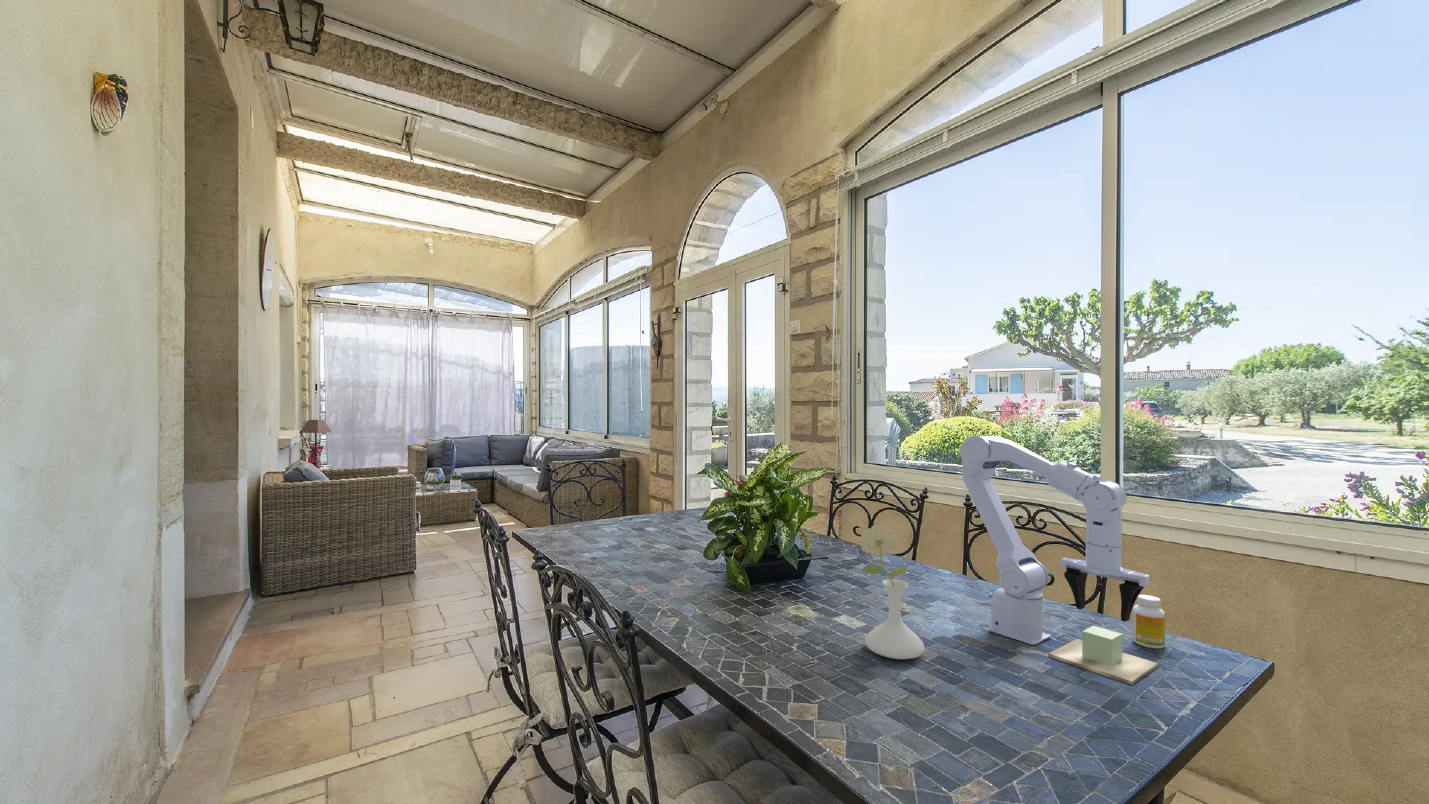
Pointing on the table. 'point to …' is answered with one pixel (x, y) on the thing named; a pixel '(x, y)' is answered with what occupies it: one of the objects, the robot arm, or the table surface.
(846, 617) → the table surface
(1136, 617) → the supplement bottle
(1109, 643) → the sage cube
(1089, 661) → the wooden board
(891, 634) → the flower in vase
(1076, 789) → the table surface
